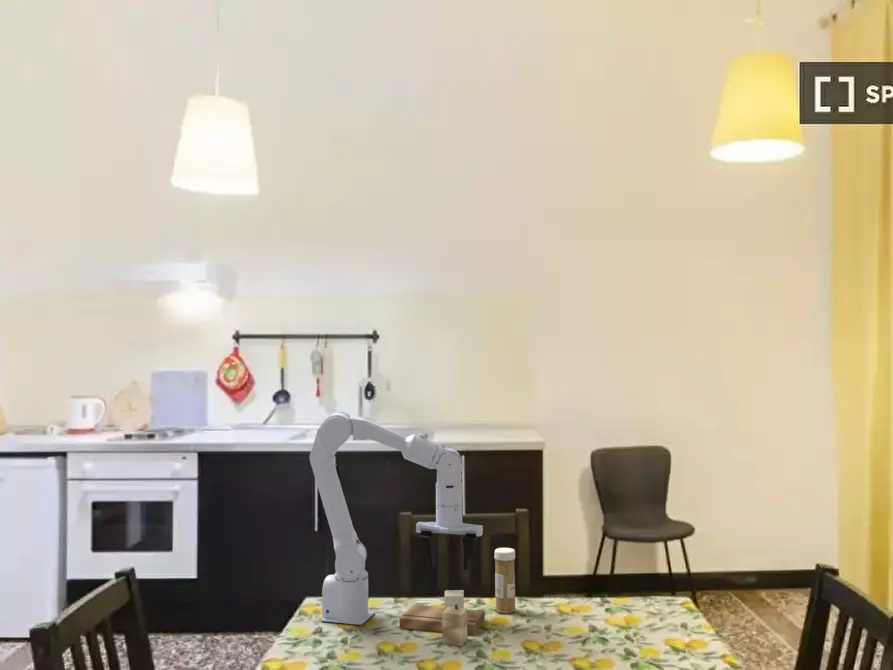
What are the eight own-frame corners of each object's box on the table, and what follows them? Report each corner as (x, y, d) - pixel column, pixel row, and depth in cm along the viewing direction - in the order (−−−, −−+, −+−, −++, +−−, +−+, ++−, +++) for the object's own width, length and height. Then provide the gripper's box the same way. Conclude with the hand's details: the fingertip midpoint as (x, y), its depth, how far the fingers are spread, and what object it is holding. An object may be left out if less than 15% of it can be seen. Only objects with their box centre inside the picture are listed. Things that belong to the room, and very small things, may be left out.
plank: (399, 627, 164) (399, 617, 165) (413, 613, 173) (413, 604, 173) (474, 635, 160) (474, 624, 160) (484, 620, 169) (484, 610, 169)
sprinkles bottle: (517, 613, 173) (517, 551, 173) (497, 614, 172) (496, 552, 172) (513, 606, 177) (512, 546, 177) (493, 608, 177) (492, 547, 177)
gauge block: (442, 643, 156) (442, 609, 156) (448, 636, 160) (447, 602, 160) (462, 645, 155) (461, 610, 155) (467, 638, 158) (467, 604, 159)
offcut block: (444, 615, 166) (444, 596, 166) (445, 609, 170) (444, 590, 170) (463, 615, 166) (463, 596, 166) (463, 608, 170) (463, 590, 170)
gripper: (411, 506, 170) (411, 569, 170) (477, 509, 166) (477, 574, 166) (421, 500, 177) (421, 561, 177) (484, 503, 173) (485, 565, 173)
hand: (449, 567), depth 172 cm, fingers open, 7 cm apart
